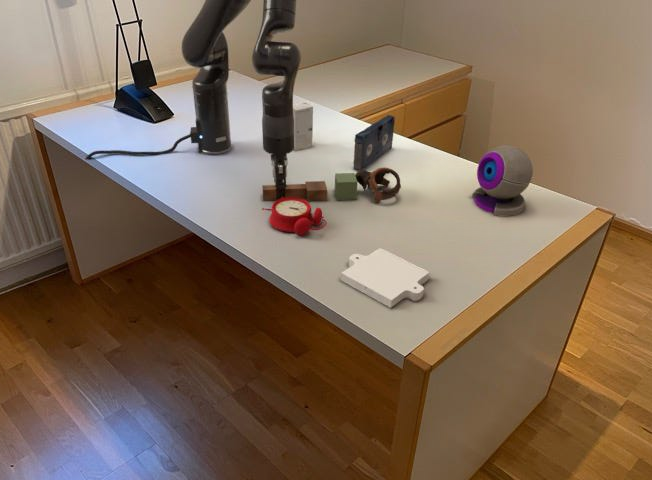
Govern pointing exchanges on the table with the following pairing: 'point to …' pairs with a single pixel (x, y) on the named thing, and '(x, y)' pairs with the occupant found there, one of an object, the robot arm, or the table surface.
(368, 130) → the vhs cassette tape
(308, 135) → the cosmetic box
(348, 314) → the table surface
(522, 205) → the webcam
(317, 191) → the wooden stamp
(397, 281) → the mounting plate
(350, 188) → the block
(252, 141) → the table surface
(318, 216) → the alarm clock
